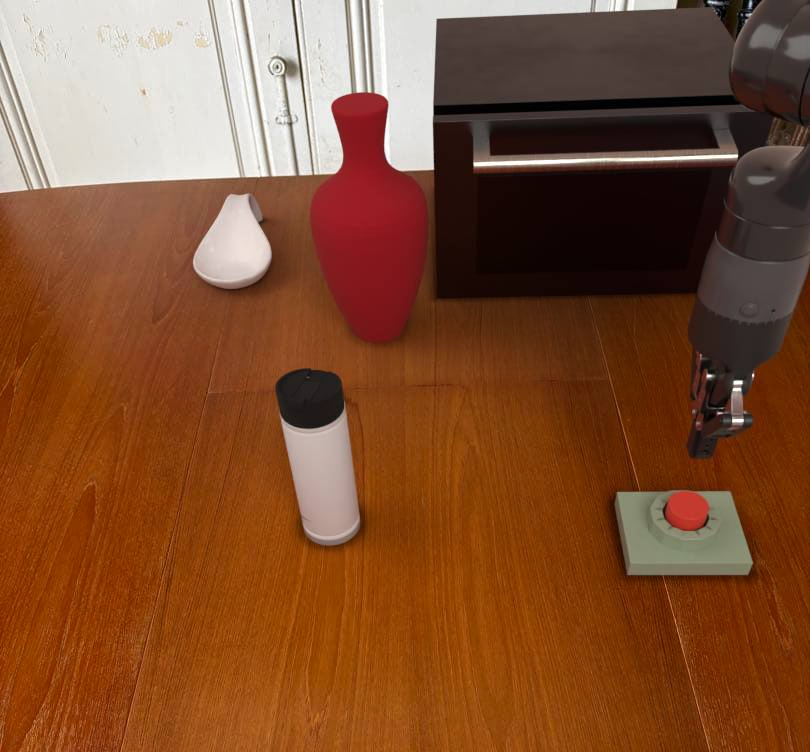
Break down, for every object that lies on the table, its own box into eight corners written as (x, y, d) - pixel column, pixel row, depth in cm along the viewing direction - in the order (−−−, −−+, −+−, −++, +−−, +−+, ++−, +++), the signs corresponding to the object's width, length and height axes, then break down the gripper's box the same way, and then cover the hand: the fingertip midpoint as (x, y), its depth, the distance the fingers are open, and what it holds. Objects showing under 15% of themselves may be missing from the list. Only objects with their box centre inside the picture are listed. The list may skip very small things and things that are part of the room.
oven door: (726, 319, 112) (788, 134, 91) (436, 324, 114) (432, 146, 94) (717, 287, 116) (773, 103, 95) (436, 293, 119) (432, 115, 98)
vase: (448, 312, 115) (446, 85, 93) (404, 372, 107) (390, 137, 84) (356, 292, 120) (332, 71, 97) (307, 348, 111) (269, 119, 89)
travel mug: (294, 543, 88) (260, 397, 73) (316, 500, 92) (289, 354, 77) (348, 554, 87) (325, 408, 72) (368, 511, 91) (351, 364, 76)
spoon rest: (273, 298, 120) (264, 253, 115) (194, 303, 120) (181, 258, 115) (282, 219, 136) (275, 176, 130) (212, 224, 136) (202, 181, 130)
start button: (701, 502, 84) (704, 490, 83) (709, 531, 82) (713, 519, 80) (661, 502, 84) (665, 490, 83) (668, 531, 82) (672, 519, 81)
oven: (716, 287, 116) (768, 93, 97) (437, 293, 119) (433, 105, 99) (675, 183, 137) (712, 6, 118) (439, 190, 140) (436, 18, 120)
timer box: (725, 505, 89) (734, 479, 86) (747, 576, 82) (758, 551, 79) (614, 505, 89) (619, 479, 86) (626, 576, 83) (633, 551, 80)
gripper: (821, 340, 60) (755, 503, 73) (774, 247, 68) (723, 408, 81) (716, 341, 60) (670, 503, 73) (683, 249, 69) (647, 409, 82)
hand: (698, 453), depth 77 cm, fingers closed
